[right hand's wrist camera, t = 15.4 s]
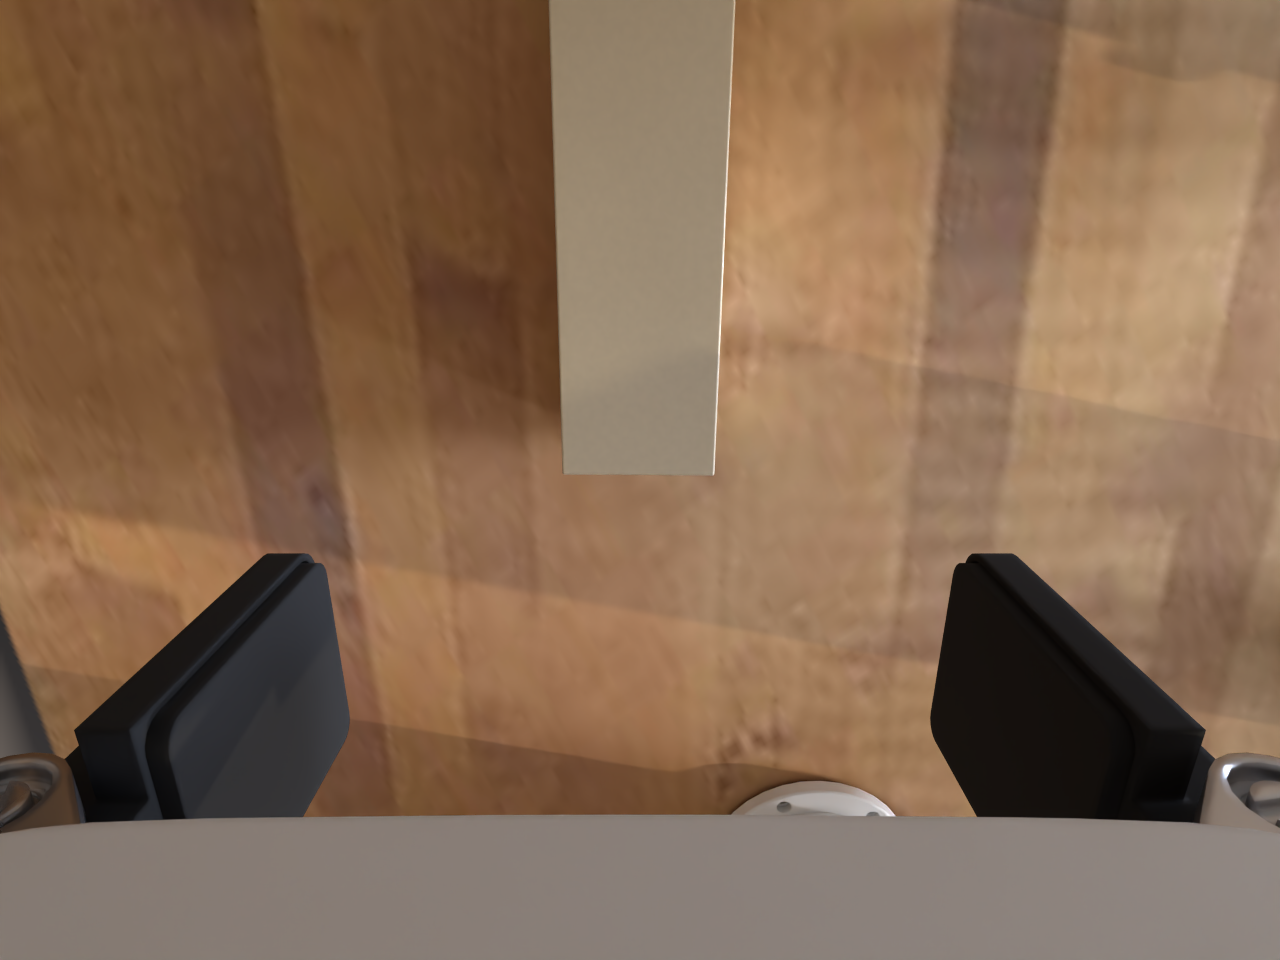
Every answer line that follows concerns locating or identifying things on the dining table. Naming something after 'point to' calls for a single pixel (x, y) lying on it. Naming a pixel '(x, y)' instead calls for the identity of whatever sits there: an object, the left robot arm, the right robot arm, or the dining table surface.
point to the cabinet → (640, 229)
